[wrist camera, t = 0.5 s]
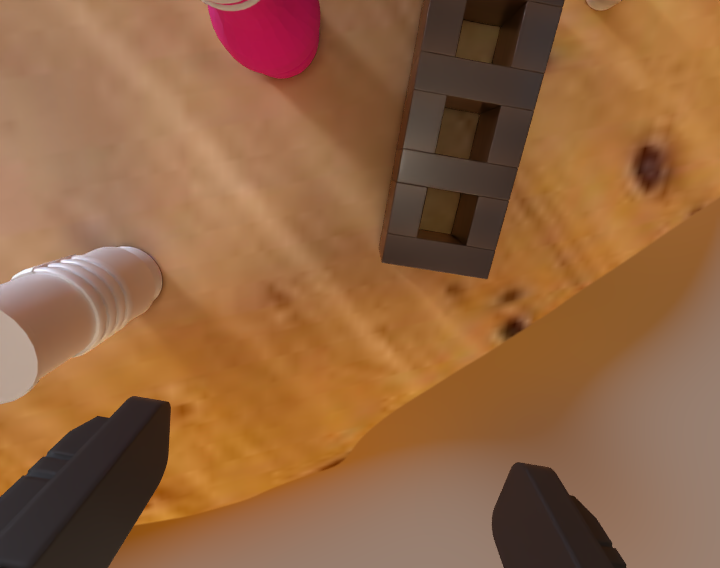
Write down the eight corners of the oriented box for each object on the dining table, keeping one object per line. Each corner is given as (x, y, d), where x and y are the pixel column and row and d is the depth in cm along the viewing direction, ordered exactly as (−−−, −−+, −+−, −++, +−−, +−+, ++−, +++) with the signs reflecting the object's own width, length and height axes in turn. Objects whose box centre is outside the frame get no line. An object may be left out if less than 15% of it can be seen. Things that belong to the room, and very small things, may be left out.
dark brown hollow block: (427, -25, 28) (441, -64, 24) (539, -4, 29) (575, -37, 24) (378, 249, 35) (381, 262, 30) (470, 263, 35) (487, 279, 30)
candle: (142, 229, 34) (-15, 275, 20) (181, 296, 36) (63, 382, 22) (78, 256, 35) (-117, 320, 21) (119, 320, 37) (-33, 419, 23)
